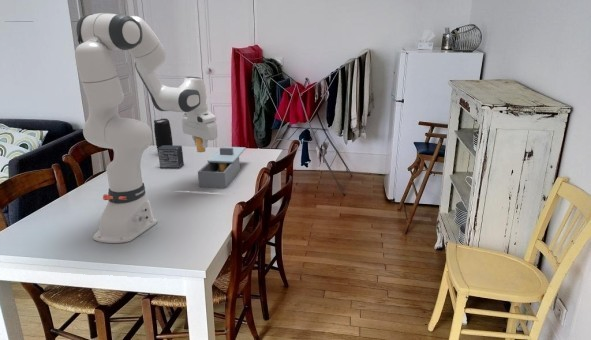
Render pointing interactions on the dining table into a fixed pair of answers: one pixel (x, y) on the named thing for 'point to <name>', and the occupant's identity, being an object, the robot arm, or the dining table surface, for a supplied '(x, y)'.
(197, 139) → the peg
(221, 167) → the seated jaw
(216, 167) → the block
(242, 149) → the lid
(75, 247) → the dining table surface
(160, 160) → the small box
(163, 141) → the portable speaker
